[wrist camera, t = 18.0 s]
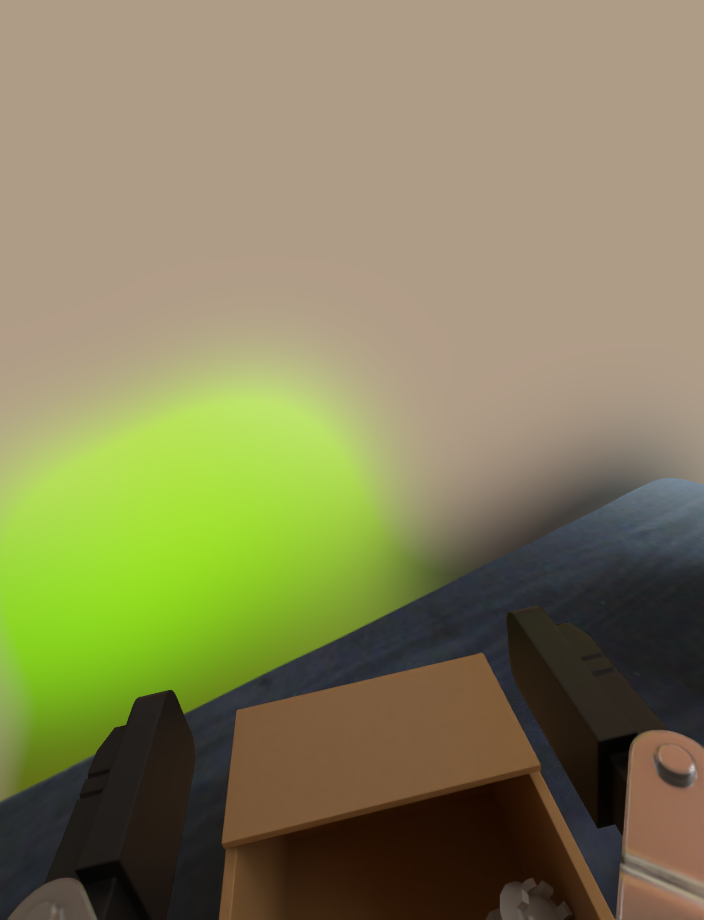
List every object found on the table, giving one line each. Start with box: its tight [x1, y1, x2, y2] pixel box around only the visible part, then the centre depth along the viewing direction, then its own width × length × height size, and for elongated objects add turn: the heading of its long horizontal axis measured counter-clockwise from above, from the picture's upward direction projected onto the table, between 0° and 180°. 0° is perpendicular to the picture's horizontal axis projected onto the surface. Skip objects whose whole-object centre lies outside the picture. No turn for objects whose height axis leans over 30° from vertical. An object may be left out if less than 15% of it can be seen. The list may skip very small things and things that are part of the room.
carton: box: [219, 653, 615, 920], centre depth 23 cm, size 14×14×11 cm
